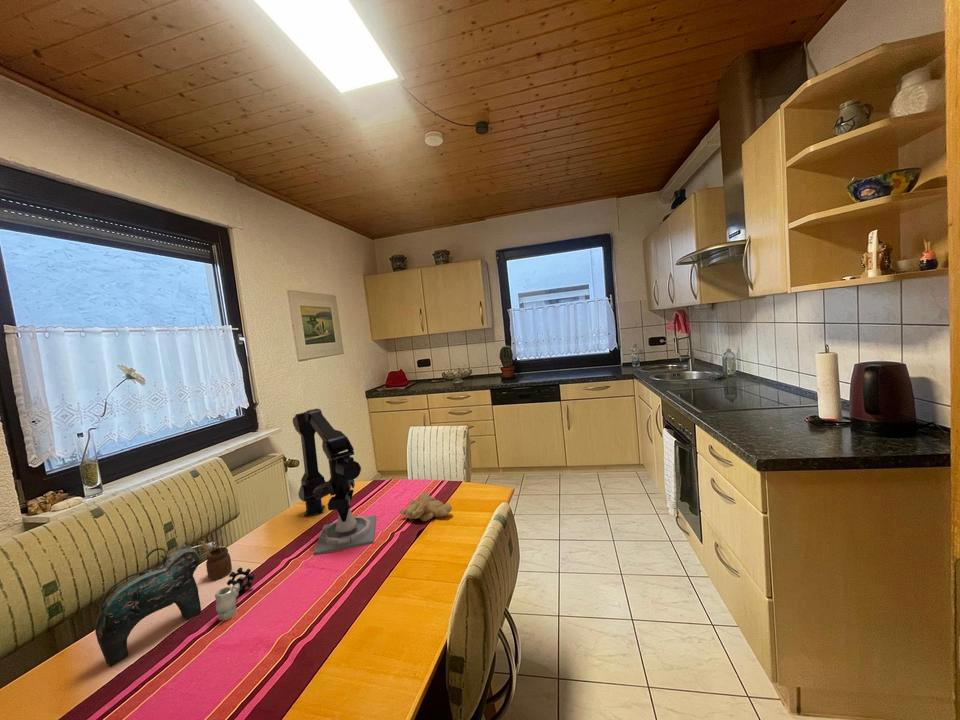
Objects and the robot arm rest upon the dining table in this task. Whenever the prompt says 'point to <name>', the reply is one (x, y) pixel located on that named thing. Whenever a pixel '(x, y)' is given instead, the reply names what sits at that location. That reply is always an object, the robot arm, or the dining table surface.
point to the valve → (231, 594)
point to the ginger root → (426, 508)
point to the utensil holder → (218, 562)
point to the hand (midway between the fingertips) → (345, 517)
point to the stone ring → (347, 539)
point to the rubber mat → (367, 539)
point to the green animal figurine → (147, 600)
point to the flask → (346, 523)
